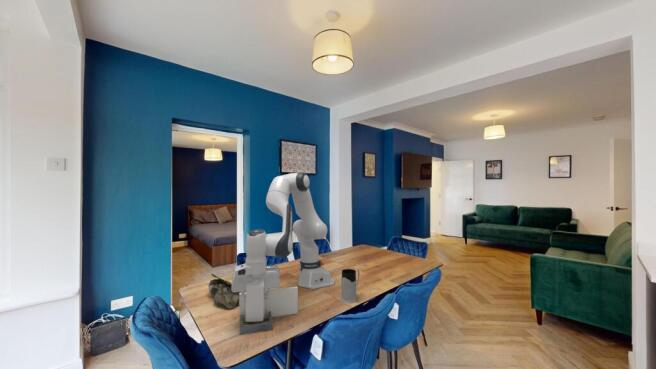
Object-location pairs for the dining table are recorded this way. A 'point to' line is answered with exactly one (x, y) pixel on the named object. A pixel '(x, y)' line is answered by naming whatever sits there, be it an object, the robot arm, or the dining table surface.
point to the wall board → (275, 302)
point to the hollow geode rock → (223, 292)
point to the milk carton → (255, 300)
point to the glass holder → (349, 285)
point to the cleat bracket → (256, 326)
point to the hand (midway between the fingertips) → (256, 299)
